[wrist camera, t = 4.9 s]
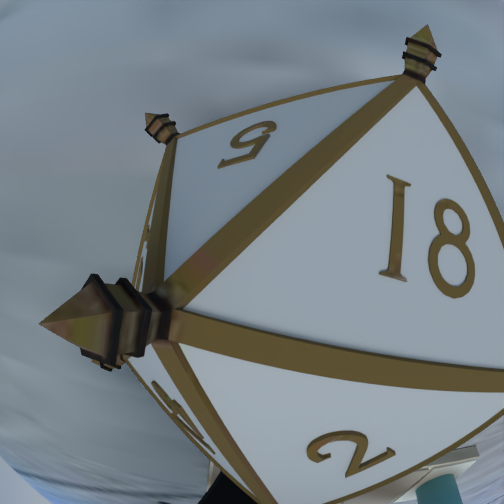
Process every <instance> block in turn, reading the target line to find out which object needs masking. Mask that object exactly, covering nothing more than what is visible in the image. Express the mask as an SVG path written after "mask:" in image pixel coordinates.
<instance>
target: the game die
mask: <svg viewBox="0 0 504 504" xmlns="http://www.w3.org/2000/svg"><path fill="white" fill-rule="evenodd" d="M405 45H407V51H406V52H404V51H403V56H402V58H403V59H405V70H404V72H403V74H401V75H394V76H388V77H381V78H375V79H370V80H364V81H359V82H354V83H349V84H344V85H339V86H334V87H330V88H326V89H321V90H317V91H313V92H309V93H305V94H301V95H297V96H293V97H290V98H286V99H282V100H279V101H275V102H272V103H268V104H265V105H262V106H258V107H255V108H252V109H249V110H246V111H243V112H240V113H237V114H234V115H231V116H228V117H225V118H222V119H219V120H216V121H213V122H211V123H208V124H205V125H202V126H200V127H197V128H194V129H192V130H189V131H187V132H184V133H182V134H180V133H178V132H177V129H176V127H175V125H176V122H175V121H172V122H171V120H170V119H169V118H168V117H169V114H168V113H167V114H161V115H159V114H151V113H145V118H146V128H145V131H146V132H147V133H148V134H149V135H150V136H151V137H152V136H153V138H154V139H155V140H156V141H157V142H158V143H161V142H162V143H164V144H165V145H167V146H166V149H165V153H164V156H163V159H162V163H161V166H160V169H159V173H158V176H157V180H156V183H155V187H154V191H153V194H152V198H151V202H150V206H149V209H148V213H147V217H146V221H145V226H144V230H143V234H142V238H141V243H140V247H139V252H138V256H137V261H136V266H135V271H134V276H133V281H132V284H131V283H130V282H129V281H128V279H127V278H119V280H118V281H117V282H116V284H105V283H104V282H103V281H102V279H101V278H100V276H99V275H98V274H91V275H90V276H89V278H88V280H87V281H86V283H85V284H84V286H83V287H82V289H81V291H79V292H78V293H77V294H76V295H74V296H73V297H72V298H70V299H69V300H68V301H66V302H65V303H64V304H63V305H61V306H60V307H59V308H58V309H56V310H55V311H54V312H53V313H51V314H50V315H49V316H48V317H46V318H45V319H44V320H43V321H41V322H40V323H39V325H41V326H43V327H44V328H46V329H48V330H50V331H51V332H53V333H55V334H56V335H58V336H60V337H62V338H63V339H65V340H67V341H69V342H71V343H73V344H74V345H76V346H78V347H80V350H81V354H82V355H83V356H86V357H88V358H91V359H93V360H92V361H91V362H93V363H95V364H98V365H100V367H101V368H103V369H105V370H107V371H110V372H111V371H112V369H113V368H117V369H121V365H123V364H124V363H127V364H128V366H129V367H130V368H131V370H132V371H133V372H134V374H135V375H136V376H137V378H138V379H139V380H140V382H141V383H142V384H143V385H144V387H145V388H146V389H147V390H148V392H149V393H150V394H151V395H152V397H153V398H154V399H155V400H156V402H157V403H158V404H159V405H160V406H161V407H162V409H163V410H164V411H165V412H166V413H167V415H168V416H169V417H170V418H171V419H172V420H173V421H174V423H175V424H176V425H177V426H178V427H179V428H180V429H181V430H182V431H183V432H184V434H185V435H186V436H187V437H188V438H189V439H190V440H191V441H192V442H193V443H194V444H195V445H196V446H197V447H198V448H199V449H200V450H201V451H202V452H203V454H204V455H205V456H206V457H207V458H208V459H209V460H211V461H212V462H213V463H214V464H215V465H216V466H217V467H218V468H219V469H220V470H221V471H222V472H223V473H224V474H225V475H226V476H227V477H228V478H229V479H230V480H232V481H233V482H234V483H235V484H236V485H237V486H238V487H239V488H240V489H242V490H243V491H244V492H245V493H246V494H247V495H249V496H250V497H251V498H252V499H253V500H254V501H256V502H257V503H258V504H338V503H341V502H344V501H347V500H350V499H353V498H355V497H358V496H361V495H363V494H366V493H368V492H371V491H373V490H376V489H378V488H380V487H383V486H385V485H387V484H389V483H392V482H394V481H396V480H398V479H400V478H402V477H404V476H407V475H409V474H411V473H413V472H415V471H416V470H418V469H420V468H422V467H424V466H426V465H428V464H430V463H431V462H433V461H435V460H437V459H439V458H440V457H442V456H444V455H445V454H447V453H449V452H450V451H452V450H454V449H455V448H457V447H459V446H460V445H462V444H463V443H465V442H466V441H468V440H469V439H471V438H472V437H474V436H475V435H477V434H478V433H480V432H481V431H483V430H484V429H485V428H487V427H488V426H489V425H491V424H492V423H494V422H495V421H496V420H497V419H499V418H500V417H501V416H503V415H504V222H503V220H502V217H501V215H500V213H499V210H498V208H497V206H496V204H495V201H494V199H493V197H492V195H491V193H490V191H489V189H488V186H487V184H486V182H485V180H484V178H483V176H482V174H481V173H480V171H479V169H478V167H477V165H476V163H475V161H474V159H473V158H472V156H471V154H470V152H469V150H468V149H467V147H466V145H465V144H464V142H463V140H462V139H461V137H460V135H459V134H458V132H457V130H456V129H455V127H454V126H453V124H452V122H451V121H450V119H449V118H448V116H447V115H446V113H445V112H444V110H443V109H442V107H441V106H440V105H439V103H438V102H437V100H436V99H435V97H434V96H433V95H432V93H431V92H430V91H429V89H428V88H427V86H426V85H425V80H426V77H427V76H428V75H429V73H430V72H431V71H432V70H434V71H436V69H437V67H435V66H434V64H435V61H436V58H437V57H441V55H442V54H441V53H439V52H438V51H437V48H436V45H435V42H434V40H433V37H432V34H431V31H430V29H429V26H428V24H427V25H426V26H425V27H423V28H422V29H421V30H420V31H418V32H417V33H416V34H415V35H413V36H412V37H411V38H408V37H406V42H405Z"/></svg>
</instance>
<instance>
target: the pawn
mask: <svg viewBox="0 0 504 504" xmlns="http://www.w3.org/2000/svg"><path fill="white" fill-rule="evenodd" d="M415 492H416V497H417V501H418V504H463V503H462V500H461V496H460V493H459V490H458V487H457V484H456V481H455V478H454V475H453V474H445V475H441V476H439V477H436V478H434V479H432V480H430V481H428V482H426V483H424V484H423V485H421V486H420V487H419V488H417V490H416V491H415Z"/></svg>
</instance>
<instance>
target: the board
mask: <svg viewBox="0 0 504 504" xmlns="http://www.w3.org/2000/svg"><path fill="white" fill-rule="evenodd" d="M478 457H479V453H478V451H477V448H476V446H472V447H467V448H462V449H456V450H452V451H450V452H449V453H447V454H445V455H444V456H442V457H440V458H439V459H437V460H435V461H433V462H431V463H430V464H428V465H426V466H424V467H422V468H420V469H418V470H416V471H415V472H413V473H411V474H409V475H407V476H404V477H402V478H400V479H398V480H396V481H394V482H392V483H389V484H387V485H385V486H383V487H380V488H378V489H376V490H373V491H371V492H368V493H366V494H363V495H361V496H358V497H355V498H353V499H350V500H347V501H344V502H341V503H338V504H388V503H390V502H393V503H395V502H402V501H408V500H414V499H417V497H416V492H415V491H416V490H417V488H419V487H420V486H421V485H423V484H424V483H426V482H428V481H430V480H432V479H434V478H436V477H439V476H441V475H445V474H453V475H454V478H455V479H456V478H457V477H459V476H460V475H461V474H462V473H463V472H464V471H465V470H467V469H468V468H469V467H470V466H471V465H472V464H473V463H474V462H475V461H476V460H477V458H478ZM220 471H221V470H220V469H219V468H218V467H217V466H216V465H215V464H214V463H213V462H212V461H210V468H209V476H208V483H207V491H208V489H209V488H210V487H211V485H212V484H213V482H214V481H215V479H216V478H217V476H218V474H219V473H220ZM207 491H206V492H207Z"/></svg>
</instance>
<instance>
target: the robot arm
mask: <svg viewBox="0 0 504 504" xmlns="http://www.w3.org/2000/svg"><path fill="white" fill-rule="evenodd" d="M158 504H160V503H158ZM198 504H258V503H257V502H256V501H254V500H253V499H252V498H251V497H250V496H249V495H247V494H246V493H245V492H244V491H243V490H242V489H240V488H239V487H238V486H237V485H236V484H235V483H234V482H233V481H232V480H230V479H229V478H228V477H227V476H226V475H225V474H224V473H223V472H222V471H220V473H219V474H218V476H217V478H216V479H215V481H214V482H213V484H212V485H211V487H210V488H209V489H208V491H207V492H206V494H205V495H204V496H203V498H202V499H201V500H200V501H199V503H198Z"/></svg>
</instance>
